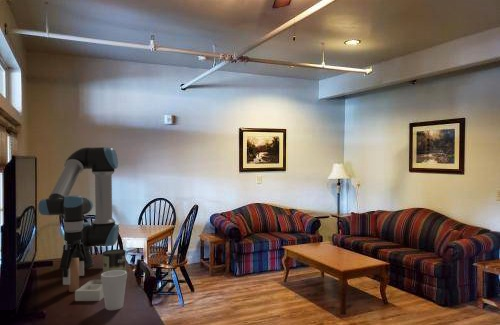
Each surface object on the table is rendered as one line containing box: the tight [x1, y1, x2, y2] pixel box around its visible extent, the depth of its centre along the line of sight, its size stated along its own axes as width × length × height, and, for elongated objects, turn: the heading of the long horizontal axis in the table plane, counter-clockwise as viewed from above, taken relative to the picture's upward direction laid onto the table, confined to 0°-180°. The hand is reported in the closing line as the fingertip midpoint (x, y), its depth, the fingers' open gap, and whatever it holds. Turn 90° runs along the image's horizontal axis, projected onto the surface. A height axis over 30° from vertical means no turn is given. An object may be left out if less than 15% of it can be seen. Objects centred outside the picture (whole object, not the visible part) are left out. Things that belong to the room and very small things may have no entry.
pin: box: [68, 258, 80, 293], centre depth 167 cm, size 4×4×14 cm
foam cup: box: [100, 270, 128, 311], centre depth 147 cm, size 10×9×13 cm
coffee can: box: [102, 248, 127, 273], centre depth 180 cm, size 10×10×14 cm
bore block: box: [74, 278, 104, 302], centre depth 162 cm, size 16×10×4 cm, turn 179°
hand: (74, 279), depth 167 cm, fingers open, 12 cm apart
